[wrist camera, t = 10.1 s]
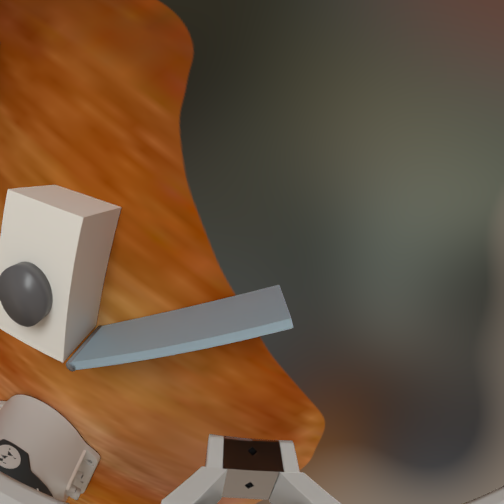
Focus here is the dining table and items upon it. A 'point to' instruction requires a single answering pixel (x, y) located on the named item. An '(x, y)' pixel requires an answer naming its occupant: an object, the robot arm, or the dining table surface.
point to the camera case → (53, 265)
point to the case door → (185, 330)
